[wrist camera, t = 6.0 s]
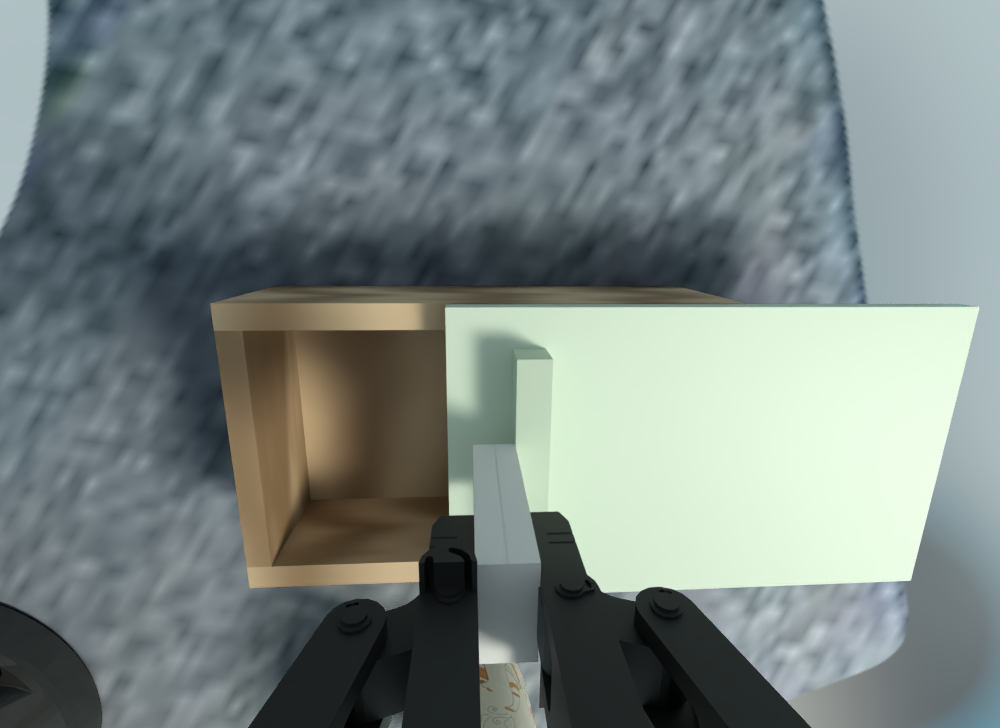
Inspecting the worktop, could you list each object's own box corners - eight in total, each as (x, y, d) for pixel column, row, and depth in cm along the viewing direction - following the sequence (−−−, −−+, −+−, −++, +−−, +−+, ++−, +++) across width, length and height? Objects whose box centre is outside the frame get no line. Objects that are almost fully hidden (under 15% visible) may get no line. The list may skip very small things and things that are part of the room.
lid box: (299, 507, 27) (249, 587, 21) (275, 285, 24) (210, 303, 18) (657, 497, 28) (710, 571, 22) (678, 286, 25) (746, 303, 19)
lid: (451, 585, 21) (449, 628, 19) (445, 304, 18) (442, 314, 16) (895, 568, 22) (944, 607, 20) (959, 303, 19) (1025, 313, 17)
